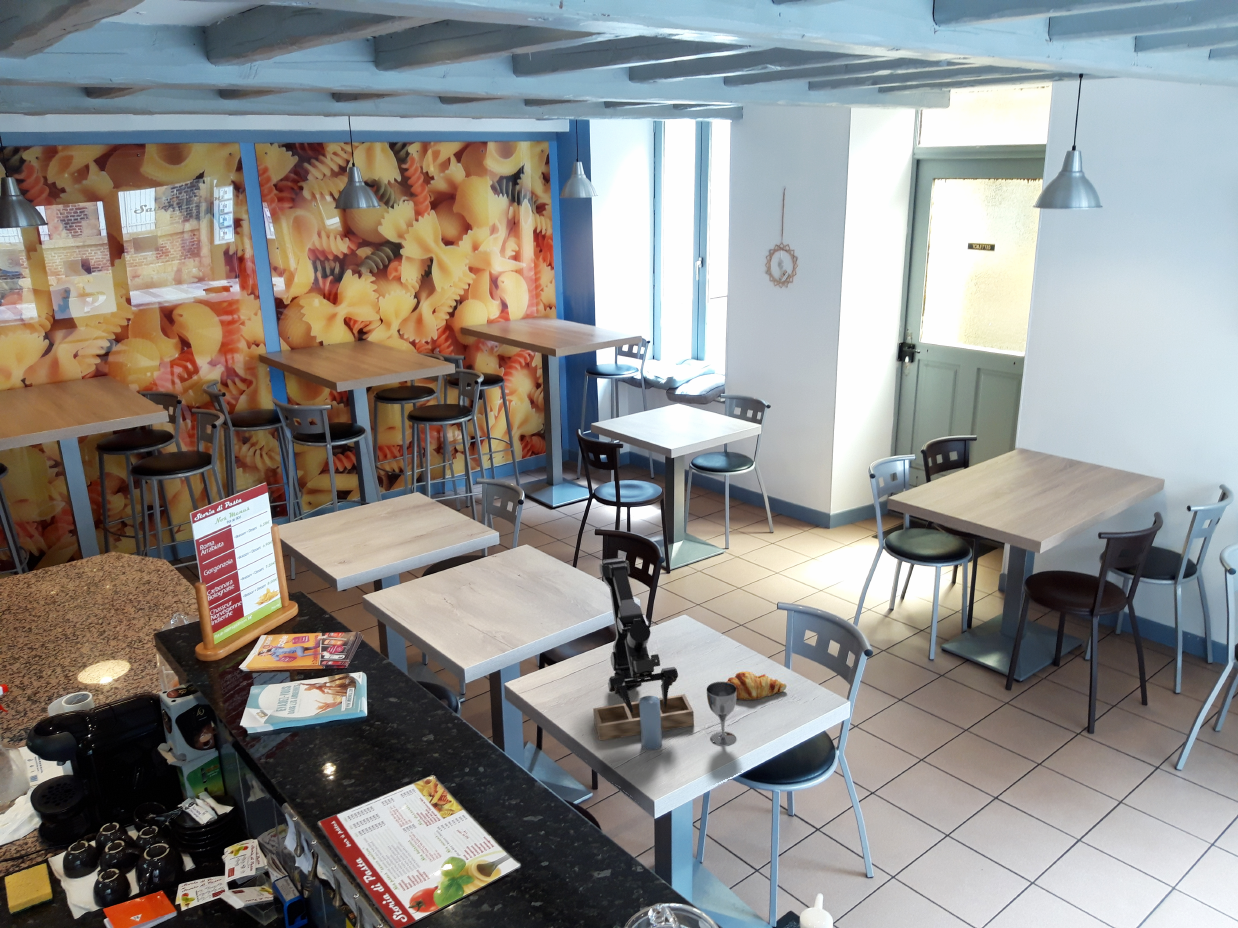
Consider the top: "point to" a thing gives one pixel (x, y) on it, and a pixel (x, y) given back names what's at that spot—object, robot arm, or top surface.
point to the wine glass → (722, 709)
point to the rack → (623, 723)
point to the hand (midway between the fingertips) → (648, 710)
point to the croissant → (755, 685)
